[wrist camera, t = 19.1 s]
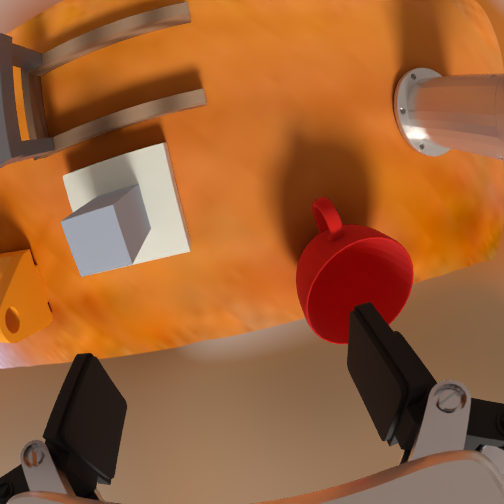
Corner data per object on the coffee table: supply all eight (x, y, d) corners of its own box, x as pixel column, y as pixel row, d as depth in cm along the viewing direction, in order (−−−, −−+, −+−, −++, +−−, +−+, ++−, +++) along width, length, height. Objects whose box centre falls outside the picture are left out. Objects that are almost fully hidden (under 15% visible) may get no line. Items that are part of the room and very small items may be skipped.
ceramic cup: (344, 162, 33) (391, 176, 24) (381, 270, 40) (420, 306, 31) (249, 211, 34) (265, 243, 25) (303, 314, 41) (328, 362, 32)
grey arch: (46, 50, 19) (0, 33, 11) (60, 147, 24) (11, 158, 16) (25, 62, 19) (-23, 50, 11) (39, 157, 24) (-11, 171, 16)
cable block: (138, 183, 28) (113, 204, 20) (151, 228, 30) (132, 264, 22) (96, 196, 28) (60, 221, 20) (110, 239, 30) (81, 276, 22)
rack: (189, 11, 23) (187, 1, 21) (206, 105, 28) (206, 102, 26) (33, 69, 22) (20, 66, 19) (46, 157, 27) (34, 160, 24)
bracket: (-2, 251, 30) (-49, 292, 19) (32, 246, 31) (-17, 290, 20) (21, 315, 34) (-13, 364, 23) (55, 314, 35) (22, 369, 24)
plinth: (166, 142, 29) (163, 142, 27) (191, 243, 34) (190, 251, 32) (71, 172, 28) (62, 176, 26) (101, 264, 33) (94, 273, 31)
